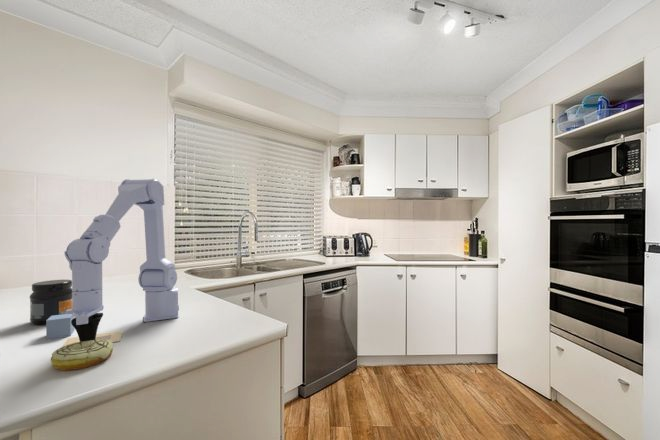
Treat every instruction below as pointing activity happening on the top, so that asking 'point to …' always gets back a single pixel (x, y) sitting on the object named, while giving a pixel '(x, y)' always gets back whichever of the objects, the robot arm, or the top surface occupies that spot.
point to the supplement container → (49, 300)
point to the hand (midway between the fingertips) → (88, 346)
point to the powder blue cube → (59, 326)
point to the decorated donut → (81, 354)
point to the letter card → (99, 337)
